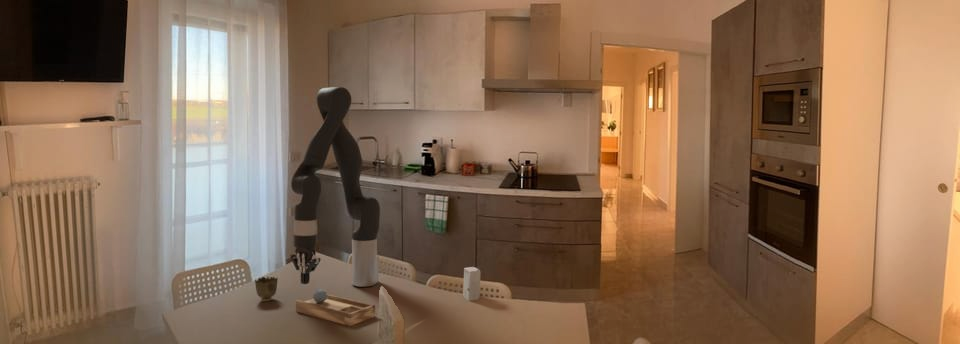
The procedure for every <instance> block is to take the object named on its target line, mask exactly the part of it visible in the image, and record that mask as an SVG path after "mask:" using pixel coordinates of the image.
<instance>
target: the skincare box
mask: <svg viewBox="0 0 960 344" xmlns="http://www.w3.org/2000/svg"><path fill="white" fill-rule="evenodd" d="M481 273H482V272H481V270H480V269H479V268H477V267H475V266H468V267H464V268H463V287H462V289H463V290H462V295H463V297H464V298H465V299H466V301H469V302H470V301H476V300H477V301H478V300H480V295H481V294H480V292H481V291H480V290H481Z"/></svg>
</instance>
